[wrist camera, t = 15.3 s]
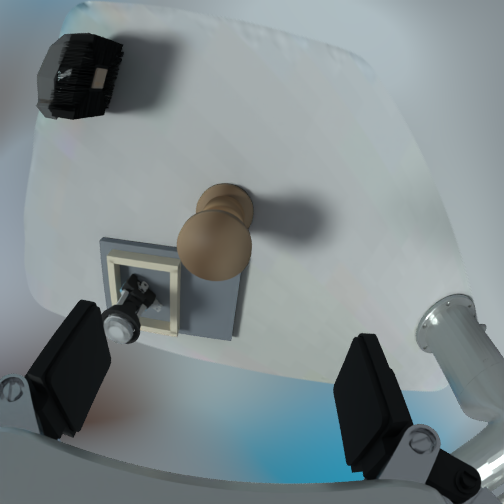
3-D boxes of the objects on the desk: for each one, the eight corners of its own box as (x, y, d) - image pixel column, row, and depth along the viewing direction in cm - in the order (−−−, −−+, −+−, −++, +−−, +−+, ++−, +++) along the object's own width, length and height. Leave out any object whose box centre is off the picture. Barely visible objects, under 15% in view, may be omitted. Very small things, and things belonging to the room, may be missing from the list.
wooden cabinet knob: (257, 187, 37) (256, 218, 28) (249, 239, 41) (246, 285, 31) (199, 180, 37) (178, 208, 27) (195, 232, 40) (175, 275, 30)
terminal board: (242, 256, 42) (241, 268, 39) (231, 335, 48) (230, 349, 45) (103, 237, 41) (93, 246, 38) (111, 315, 47) (104, 327, 44)
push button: (172, 294, 43) (154, 342, 34) (152, 314, 45) (132, 361, 36) (136, 264, 41) (108, 307, 32) (117, 286, 43) (90, 329, 34)
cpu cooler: (93, 39, 29) (49, 26, 19) (130, 42, 29) (92, 26, 20) (74, 113, 33) (27, 120, 24) (109, 119, 34) (66, 127, 25)
